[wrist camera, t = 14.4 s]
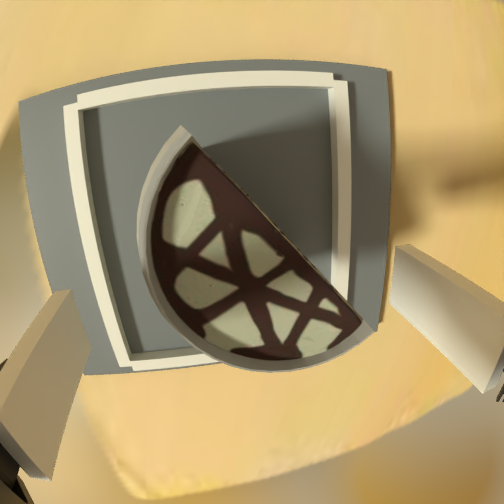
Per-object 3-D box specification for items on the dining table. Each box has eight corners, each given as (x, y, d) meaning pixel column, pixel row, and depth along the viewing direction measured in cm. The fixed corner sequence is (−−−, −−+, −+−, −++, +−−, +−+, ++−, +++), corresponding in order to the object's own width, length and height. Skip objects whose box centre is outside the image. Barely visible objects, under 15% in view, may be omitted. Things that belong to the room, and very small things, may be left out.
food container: (117, 201, 19) (61, 257, 10) (184, 131, 18) (178, 121, 9) (247, 316, 24) (282, 416, 14) (308, 260, 23) (379, 337, 14)
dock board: (379, 71, 20) (393, 67, 18) (372, 325, 28) (382, 337, 26) (25, 102, 16) (11, 100, 14) (86, 368, 24) (82, 382, 22)
